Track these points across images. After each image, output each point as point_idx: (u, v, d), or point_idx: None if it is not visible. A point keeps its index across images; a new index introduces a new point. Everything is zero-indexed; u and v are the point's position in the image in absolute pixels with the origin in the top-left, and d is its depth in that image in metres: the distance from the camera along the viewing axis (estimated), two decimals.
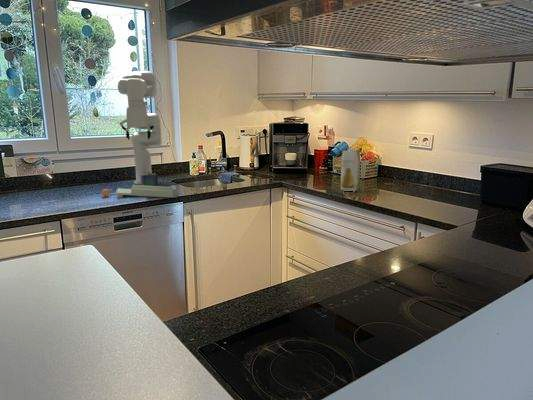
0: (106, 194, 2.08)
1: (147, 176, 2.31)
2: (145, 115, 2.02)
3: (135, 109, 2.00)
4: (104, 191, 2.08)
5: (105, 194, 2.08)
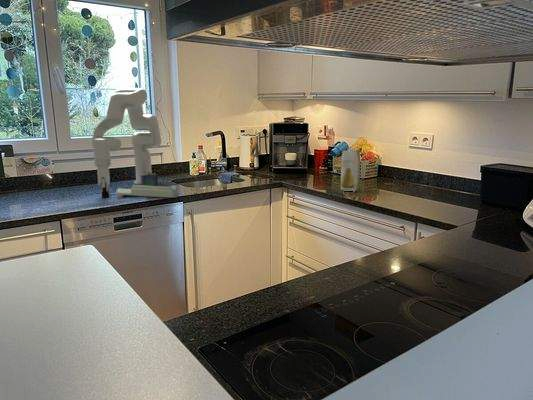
0: None
1: (147, 176, 2.31)
2: None
3: (108, 167, 2.07)
4: None
5: None
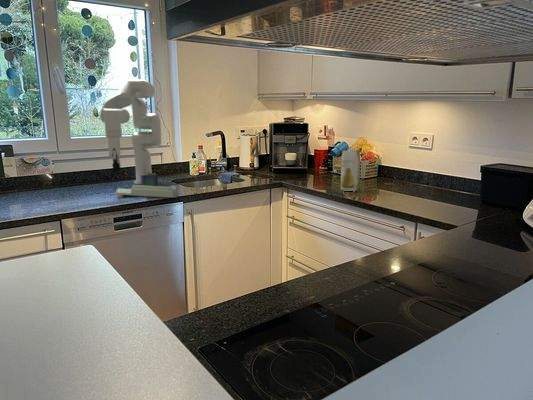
0: None
1: (147, 176, 2.31)
2: None
3: (119, 139, 2.05)
4: None
5: None
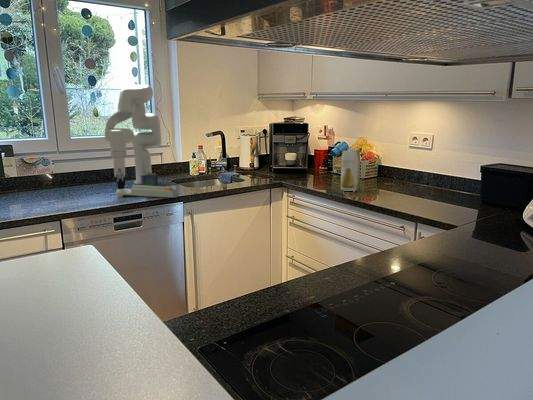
0: (169, 190, 2.17)
1: (147, 176, 2.31)
2: None
3: (124, 159, 2.08)
4: (166, 189, 2.17)
5: (168, 190, 2.17)
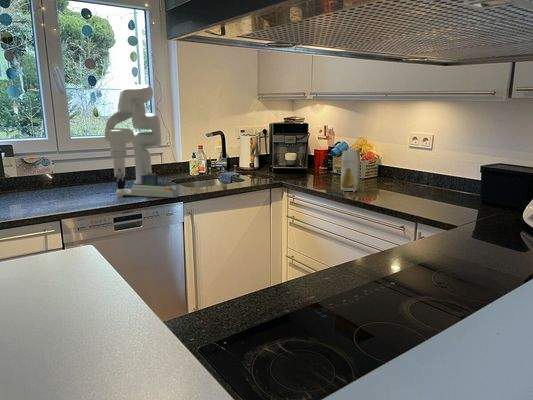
0: (169, 190, 2.17)
1: (147, 176, 2.31)
2: None
3: (124, 159, 2.08)
4: (166, 189, 2.17)
5: (168, 190, 2.17)
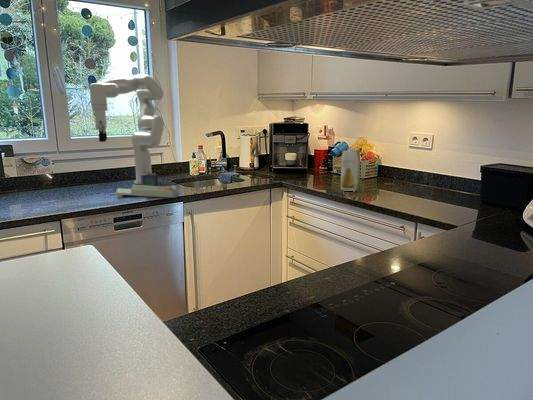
0: (169, 190, 2.17)
1: (147, 176, 2.31)
2: None
3: (105, 112, 2.14)
4: (166, 189, 2.17)
5: (168, 190, 2.17)
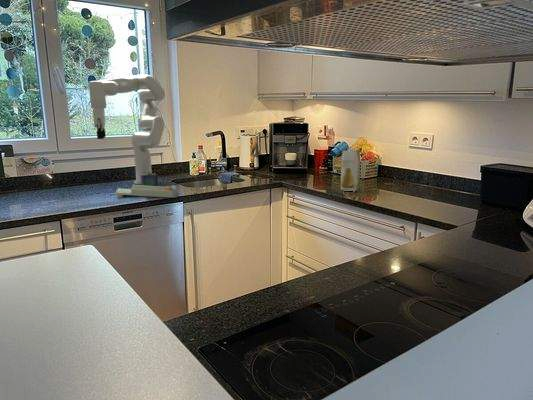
0: (169, 190, 2.17)
1: (147, 176, 2.31)
2: None
3: None
4: (166, 189, 2.17)
5: (168, 190, 2.17)
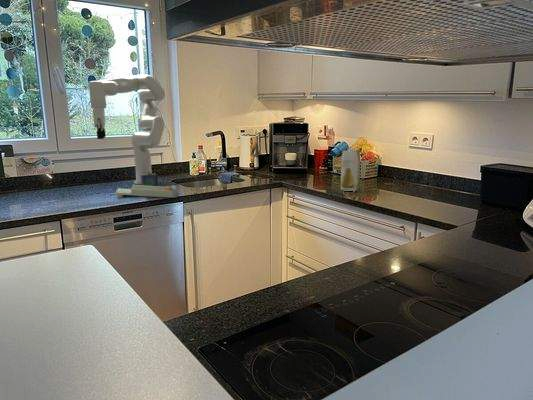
0: (169, 190, 2.17)
1: (147, 176, 2.31)
2: None
3: None
4: (166, 189, 2.17)
5: (168, 190, 2.17)
